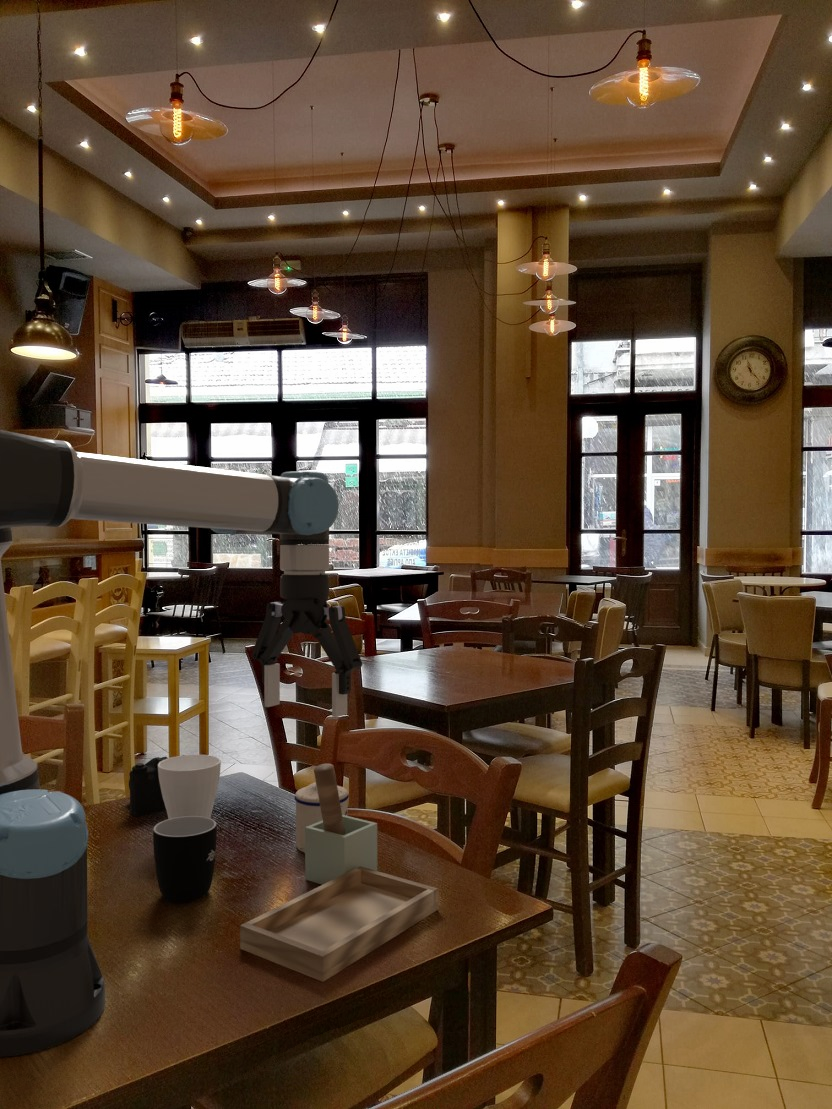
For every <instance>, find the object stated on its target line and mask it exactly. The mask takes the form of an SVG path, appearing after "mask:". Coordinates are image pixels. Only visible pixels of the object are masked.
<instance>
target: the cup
mask: <svg viewBox="0 0 832 1109" xmlns="http://www.w3.org/2000/svg"><path fill="white" fill-rule="evenodd" d="M167 758H168V759H165V760H162V761H161V762H159V764H158V775H159V782H160V787H161V792H162V797H163V800H164V804H165V807H166V814H167V818H168V819H172V818H176V817H184V816H201V817H207V818H210V819H212V814H213V809H214V804H215V802H216V797H217V794H218V793H217V792H218V787H219V782H220V778H221V765H222V764H221V763H222V761H221V759H220V758H219V757H217V756H214V755H209V754H183V756H182V755H179V756H178V755H177V756H172V757H167ZM168 819H167V820H168Z"/></svg>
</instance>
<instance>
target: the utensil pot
mask: <svg viewBox="0 0 832 1109" xmlns="http://www.w3.org/2000/svg"><path fill="white" fill-rule="evenodd" d="M342 817H343V823H344V829H345V834H346V835H340V834H336V833H333V832H329V831H325V830H324V825H323V820H322V821H320V822H317V823H315V824H312V825H310V826H307V827H305V853H304V854H305V855H304V857H305V858H304V859H305V860H304V863H305V864H304V868H305V873H304V874H305V877H304V878H305V880H306V881H310V882H313V883H316V884H319V885H323V884H325V883H327V882H329V881H331V880H333V879H335V878H337V877H339V876H341V875H343V874H345V873H347V872H349V871H352V870H354V869H356V868H358V867H360V866H361V867H365V868H368V869H372V870H375V871H378V822H374V821H369V820H365V819H361V818H356V817H353V816H349V815H348V816H346V815H342Z"/></svg>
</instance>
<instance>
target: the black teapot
mask: <svg viewBox="0 0 832 1109" xmlns="http://www.w3.org/2000/svg"><path fill="white" fill-rule="evenodd" d="M183 755H184V754H183ZM183 755H181V756H183ZM168 758H169V757H167V756H162V757H159V756H158V757H153V758H151V759H150V760H149V761H147V762H146V763H143V762H138V763H136V764H134V765H133V766H132V767H131V770H130V771H129V775H128V776H129V780H128V790H129V814H130V815H131V816H133V817H144V816H147V815H153V814H158V813H162V812H165V811H166V812H167V810H166V807H165V804H164V800H163V797H162V792H161V787H160V782H159V775H158V764H159V762H161V761H162V760H165V759H168Z"/></svg>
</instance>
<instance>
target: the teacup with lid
mask: <svg viewBox="0 0 832 1109" xmlns="http://www.w3.org/2000/svg"><path fill="white" fill-rule="evenodd" d="M337 788H338V794H339V800H340V805H341V811H342V815H346V816H349V815H348V813H349V812H348V799H349V796H350V794H349V791H348V790H347V789H346V787H343V786H341V785H337ZM294 801H295V841H296V842H295V846H296V849H297V850H299V851H300V852H302V853H304V854H305V827H307V826H310V825H312V824H315V823H317V822H320V821H322V820H323V819H322V814H321V808H320V802H319V797H318V791H317V786H316V781H315V782H312V783H310V784H309V785H307V786H305V787H301V788H300V789H298V790H297V791H296V792H295V795H294Z"/></svg>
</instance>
